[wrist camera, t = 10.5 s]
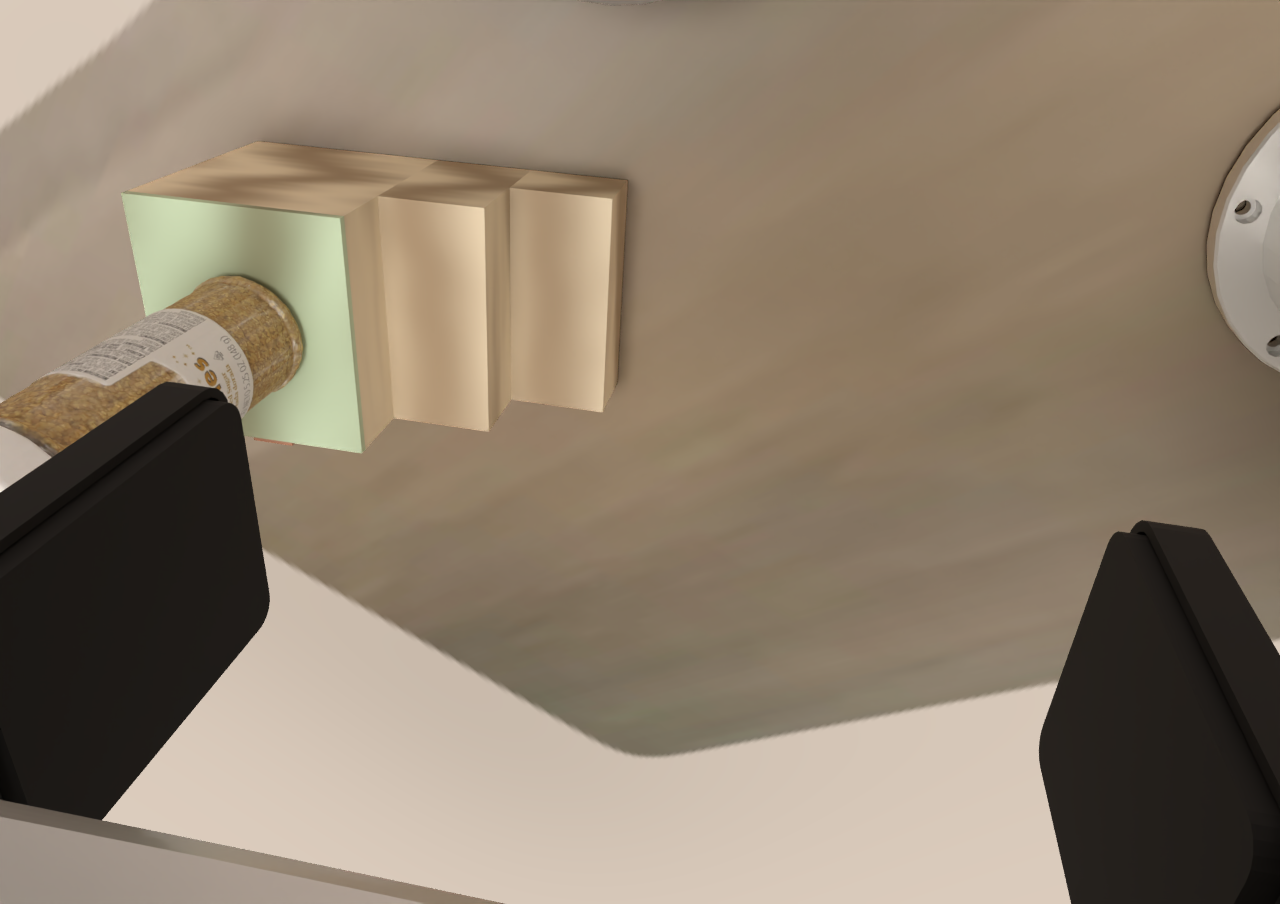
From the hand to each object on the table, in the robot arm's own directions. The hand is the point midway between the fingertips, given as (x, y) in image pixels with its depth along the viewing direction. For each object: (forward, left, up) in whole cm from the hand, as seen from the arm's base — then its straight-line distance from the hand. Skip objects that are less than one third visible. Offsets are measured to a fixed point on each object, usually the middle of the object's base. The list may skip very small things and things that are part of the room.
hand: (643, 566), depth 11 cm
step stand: (+14, +8, -30) cm, 34 cm away
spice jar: (+18, +8, -22) cm, 29 cm away
